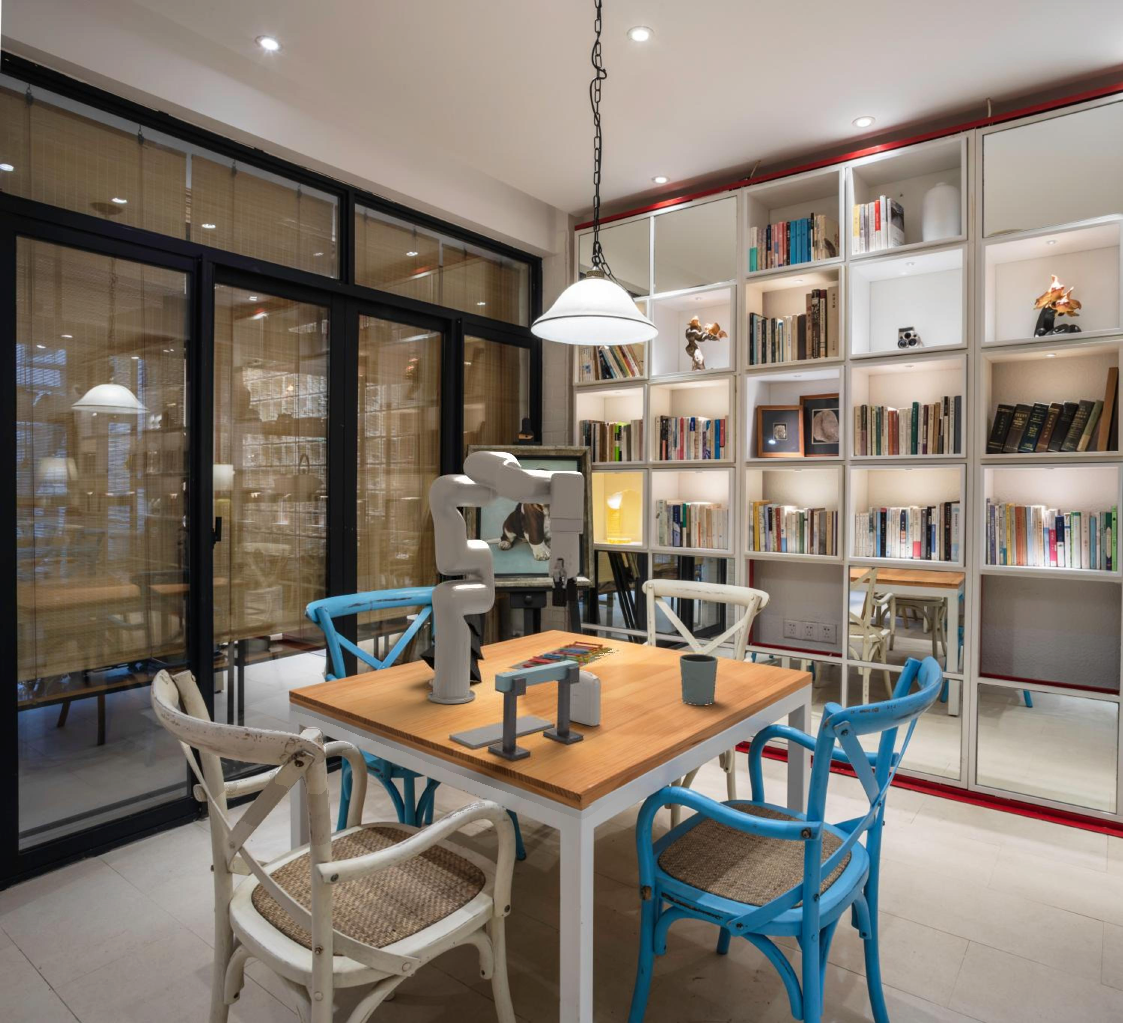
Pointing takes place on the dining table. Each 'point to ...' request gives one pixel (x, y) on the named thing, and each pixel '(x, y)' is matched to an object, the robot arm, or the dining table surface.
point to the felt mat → (499, 732)
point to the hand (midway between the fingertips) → (564, 603)
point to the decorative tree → (475, 649)
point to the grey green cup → (698, 678)
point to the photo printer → (586, 699)
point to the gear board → (566, 655)
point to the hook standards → (560, 733)
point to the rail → (534, 674)
